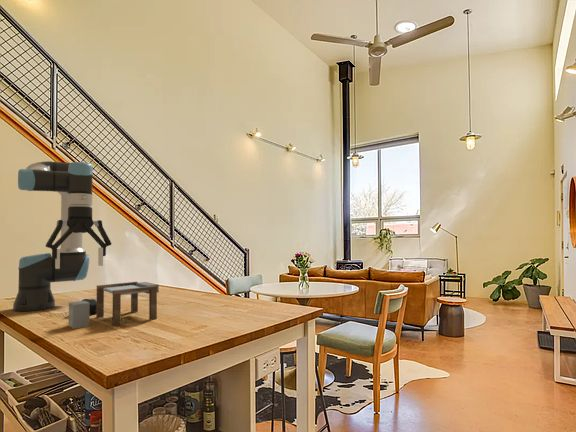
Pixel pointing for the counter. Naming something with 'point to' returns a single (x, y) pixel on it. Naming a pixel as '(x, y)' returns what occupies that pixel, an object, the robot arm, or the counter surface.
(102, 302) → the trapdoor frame
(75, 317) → the grey rectangular block
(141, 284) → the trapdoor
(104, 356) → the counter surface
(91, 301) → the rock
